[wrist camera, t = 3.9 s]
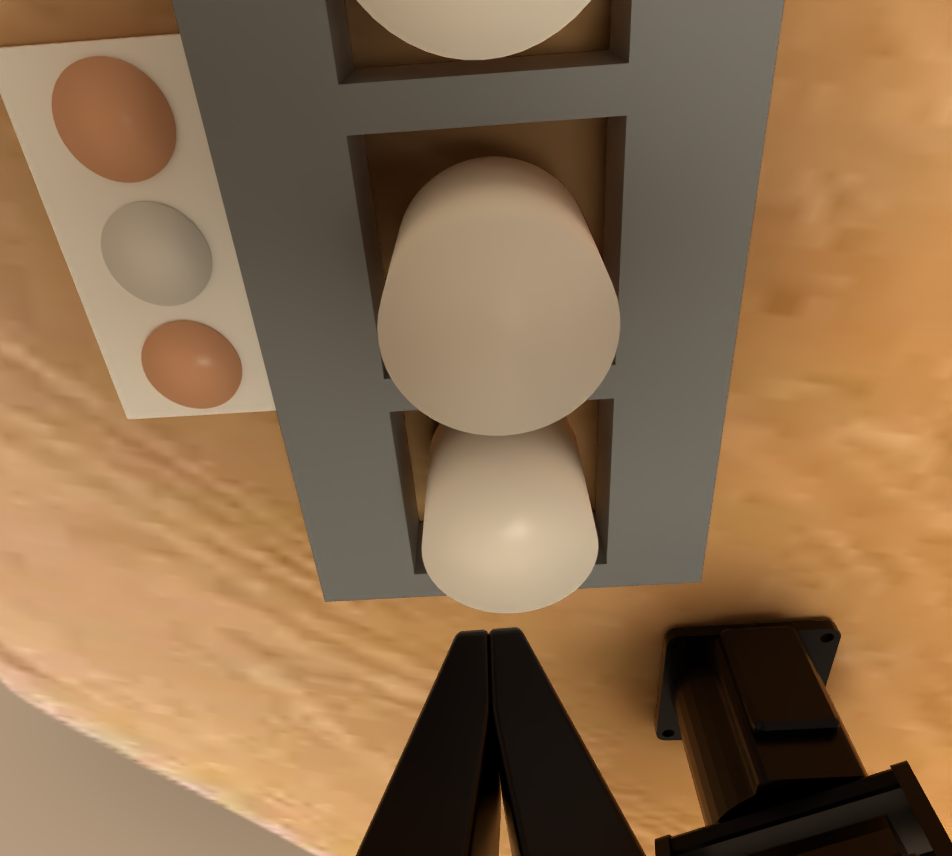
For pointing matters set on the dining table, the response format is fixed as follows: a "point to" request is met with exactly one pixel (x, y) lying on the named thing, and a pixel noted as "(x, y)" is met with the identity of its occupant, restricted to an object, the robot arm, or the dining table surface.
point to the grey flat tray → (362, 278)
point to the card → (139, 220)
